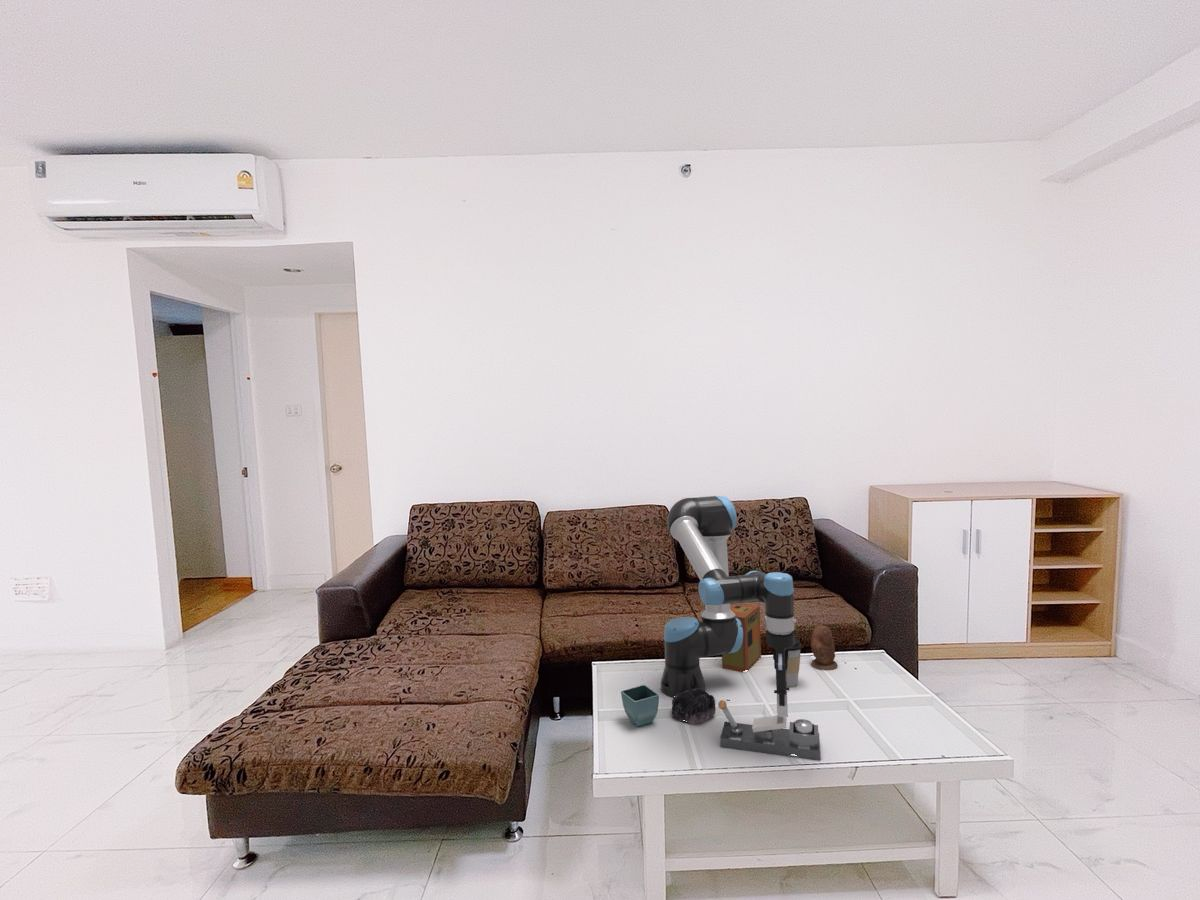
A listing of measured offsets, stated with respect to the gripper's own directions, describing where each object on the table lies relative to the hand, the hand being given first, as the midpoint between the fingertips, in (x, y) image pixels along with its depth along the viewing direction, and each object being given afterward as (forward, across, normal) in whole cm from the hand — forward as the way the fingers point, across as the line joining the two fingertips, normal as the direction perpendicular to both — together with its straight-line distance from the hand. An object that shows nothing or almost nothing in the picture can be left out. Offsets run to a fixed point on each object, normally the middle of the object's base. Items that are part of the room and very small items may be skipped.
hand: (782, 715), depth 165 cm
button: (+6, 0, -5) cm, 8 cm away
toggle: (+6, 0, +13) cm, 14 cm away
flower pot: (+9, +4, +42) cm, 43 cm away
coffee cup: (+9, +43, 0) cm, 43 cm away
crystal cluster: (+9, +12, +27) cm, 31 cm away
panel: (+9, 0, +4) cm, 9 cm away
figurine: (+9, +62, -12) cm, 63 cm away
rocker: (+3, 0, +4) cm, 4 cm away
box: (+9, +58, +17) cm, 61 cm away
